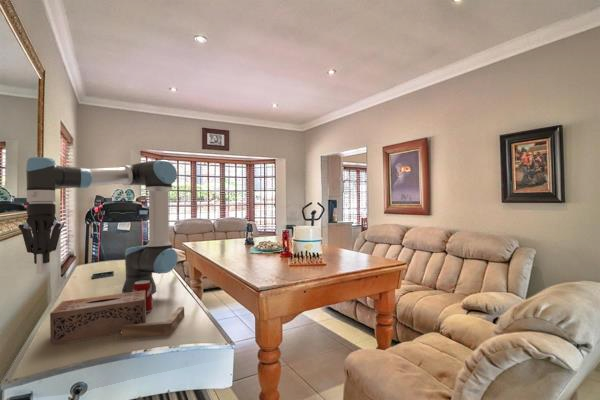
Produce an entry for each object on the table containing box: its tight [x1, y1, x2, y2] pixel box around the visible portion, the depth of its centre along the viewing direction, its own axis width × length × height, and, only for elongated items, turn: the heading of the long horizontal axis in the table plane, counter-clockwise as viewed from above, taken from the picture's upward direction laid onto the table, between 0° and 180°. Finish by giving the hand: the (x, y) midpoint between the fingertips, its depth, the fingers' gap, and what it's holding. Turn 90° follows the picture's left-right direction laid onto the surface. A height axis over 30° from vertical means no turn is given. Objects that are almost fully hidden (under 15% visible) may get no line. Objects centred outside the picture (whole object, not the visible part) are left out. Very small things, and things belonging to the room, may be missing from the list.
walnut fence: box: [121, 306, 185, 339], centre depth 107 cm, size 17×15×4 cm
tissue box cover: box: [49, 290, 147, 346], centre depth 106 cm, size 26×14×10 cm, turn 116°
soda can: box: [133, 280, 153, 314], centre depth 123 cm, size 7×7×12 cm
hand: (42, 273), depth 104 cm, fingers closed
